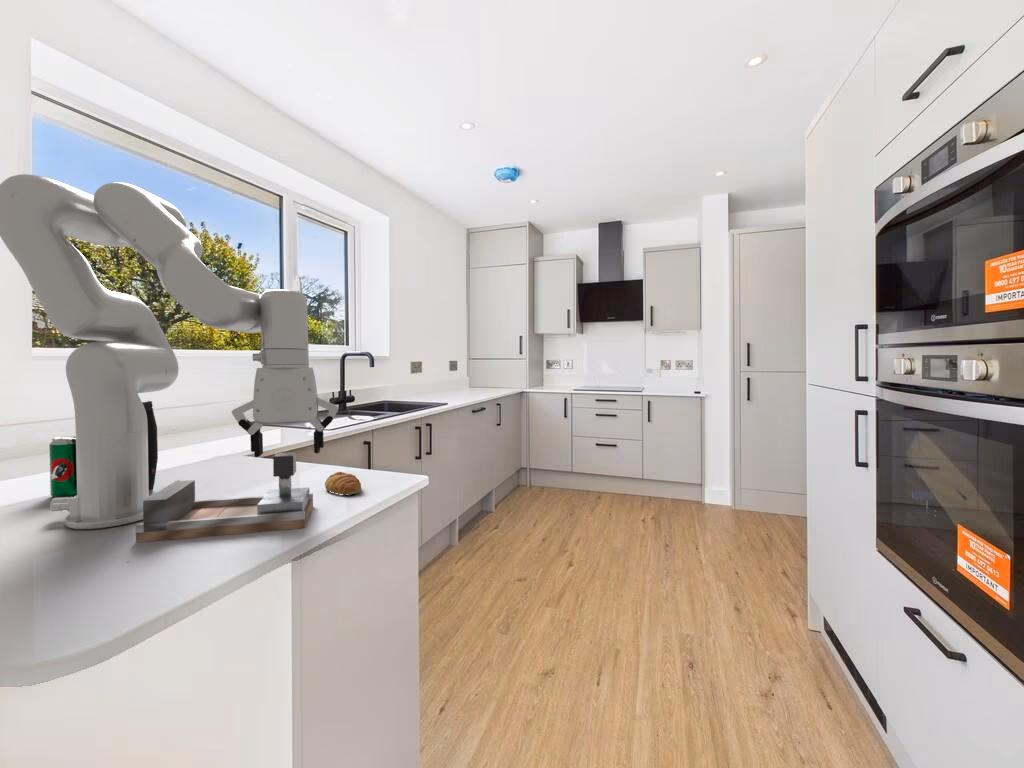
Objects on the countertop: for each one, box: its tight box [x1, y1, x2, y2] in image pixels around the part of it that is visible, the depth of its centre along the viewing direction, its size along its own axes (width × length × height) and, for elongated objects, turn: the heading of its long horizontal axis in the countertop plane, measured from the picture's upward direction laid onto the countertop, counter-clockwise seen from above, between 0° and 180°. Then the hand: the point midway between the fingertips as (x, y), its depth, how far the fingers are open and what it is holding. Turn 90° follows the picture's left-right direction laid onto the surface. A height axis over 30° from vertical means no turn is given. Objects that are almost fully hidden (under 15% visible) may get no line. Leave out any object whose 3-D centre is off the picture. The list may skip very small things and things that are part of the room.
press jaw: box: [257, 451, 310, 515], centre depth 80 cm, size 7×9×10 cm
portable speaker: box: [142, 400, 159, 491], centre depth 93 cm, size 9×9×20 cm
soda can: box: [48, 435, 77, 498], centre depth 91 cm, size 5×5×12 cm
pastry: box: [324, 471, 362, 496], centre depth 98 cm, size 9×7×4 cm
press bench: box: [135, 479, 314, 543], centre depth 78 cm, size 24×12×6 cm, turn 108°
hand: (288, 453), depth 80 cm, fingers open, 9 cm apart
